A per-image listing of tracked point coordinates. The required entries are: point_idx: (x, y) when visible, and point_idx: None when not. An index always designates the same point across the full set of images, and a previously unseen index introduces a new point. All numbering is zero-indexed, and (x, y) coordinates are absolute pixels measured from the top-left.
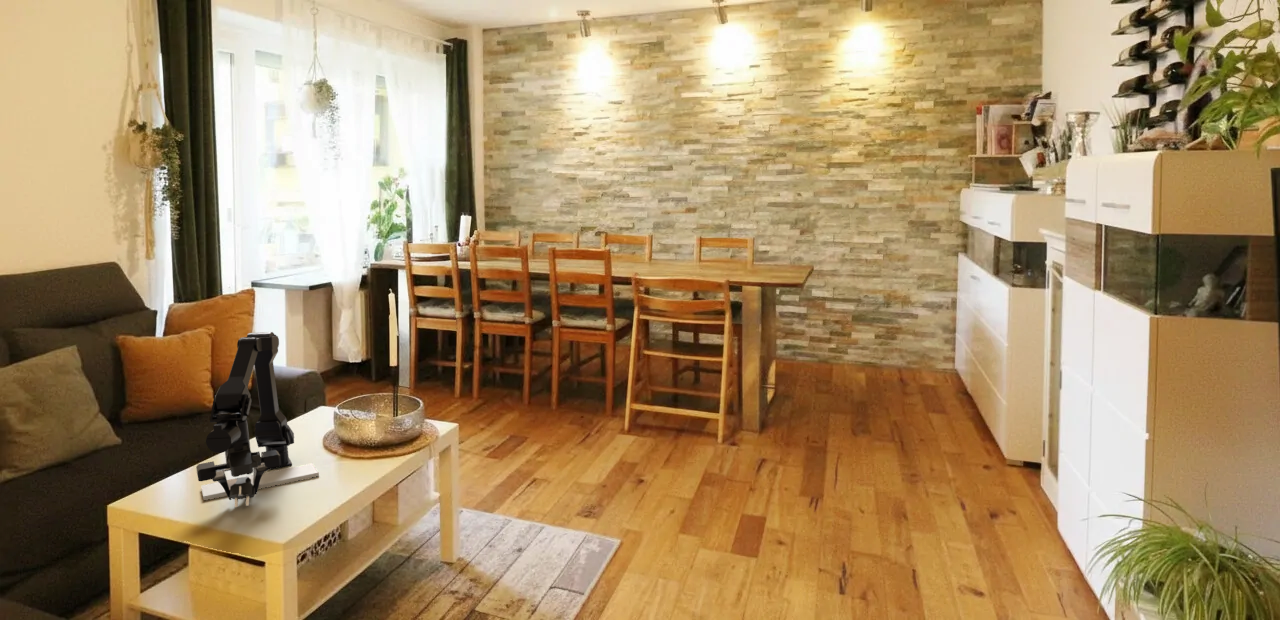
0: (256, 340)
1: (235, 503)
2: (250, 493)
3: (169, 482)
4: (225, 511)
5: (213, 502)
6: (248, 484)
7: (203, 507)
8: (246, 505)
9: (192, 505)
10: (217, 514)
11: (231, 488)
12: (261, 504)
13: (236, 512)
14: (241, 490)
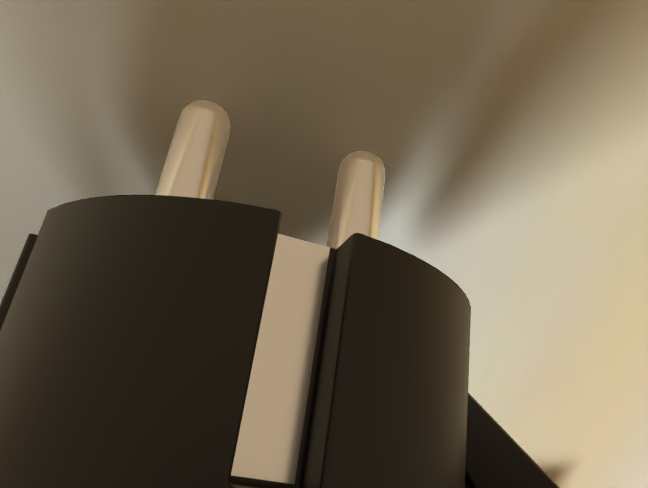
0: None
1: (371, 206)
2: (61, 206)
3: None
4: (487, 174)
5: None
6: (11, 466)
7: (604, 391)
8: (217, 105)
9: (642, 461)
10: (597, 135)
11: (459, 474)
12: (11, 128)
13: (379, 39)
14: (255, 300)
